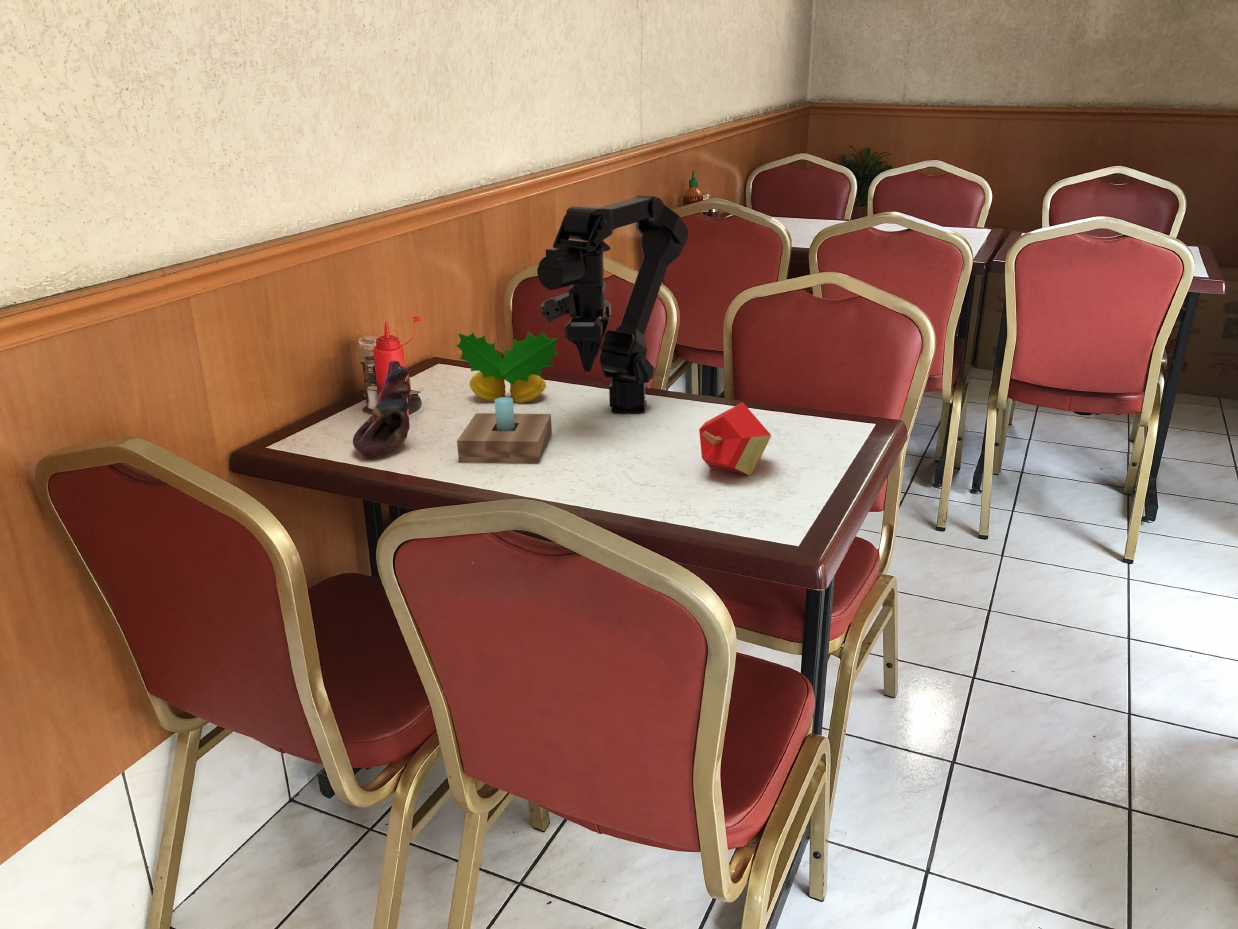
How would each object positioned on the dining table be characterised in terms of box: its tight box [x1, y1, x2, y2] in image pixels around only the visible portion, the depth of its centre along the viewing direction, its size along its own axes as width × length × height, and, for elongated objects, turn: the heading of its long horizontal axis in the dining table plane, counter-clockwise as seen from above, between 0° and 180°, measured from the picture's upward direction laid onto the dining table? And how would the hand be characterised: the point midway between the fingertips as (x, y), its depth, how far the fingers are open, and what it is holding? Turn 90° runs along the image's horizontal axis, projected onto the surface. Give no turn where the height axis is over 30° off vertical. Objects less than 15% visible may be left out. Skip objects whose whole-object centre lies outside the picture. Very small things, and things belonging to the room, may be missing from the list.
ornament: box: [455, 331, 559, 404], centre depth 195 cm, size 21×8×15 cm, turn 84°
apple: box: [698, 401, 772, 477], centre depth 159 cm, size 12×12×15 cm
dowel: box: [494, 396, 515, 431], centre depth 171 cm, size 3×3×8 cm
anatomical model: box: [352, 360, 411, 459], centre depth 171 cm, size 9×13×15 cm
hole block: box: [456, 412, 553, 465], centre depth 172 cm, size 14×14×4 cm
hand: (590, 364), depth 178 cm, fingers open, 9 cm apart
